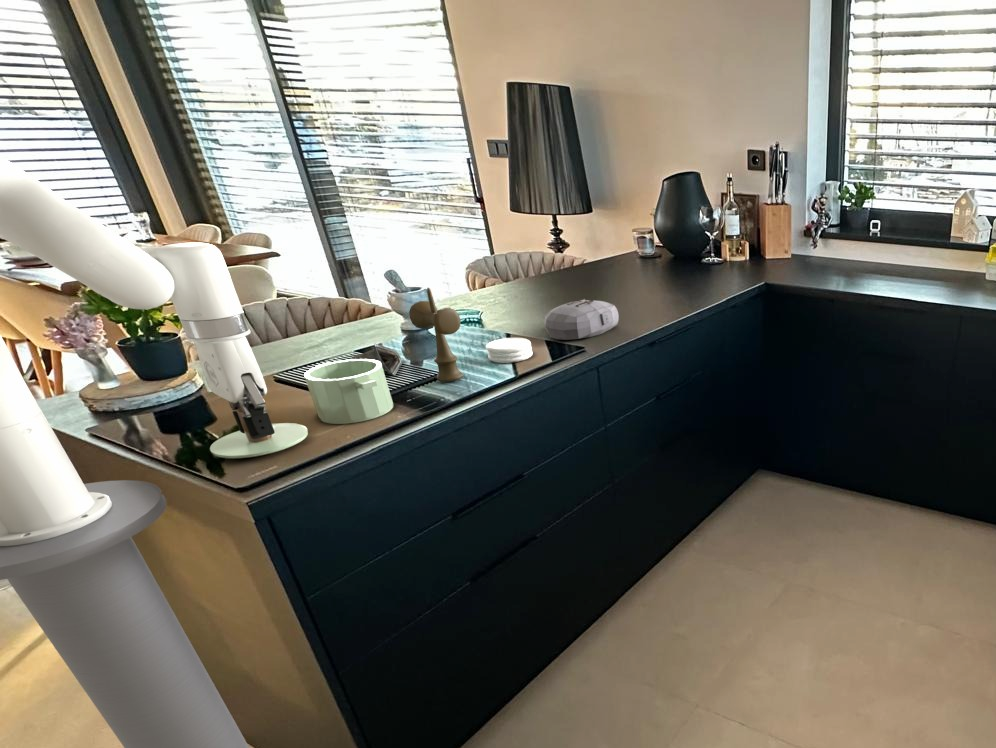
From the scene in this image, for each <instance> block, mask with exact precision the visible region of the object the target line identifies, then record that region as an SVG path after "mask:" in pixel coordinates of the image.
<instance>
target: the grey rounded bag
mask: <svg viewBox="0 0 996 748" xmlns="http://www.w3.org/2000/svg"><path fill="white" fill-rule="evenodd" d="M619 316H620V315H619V312H618V308H617V307H616V306H615V305H614V304H613V303H610V302H606V301H603V300H594V299H591V300H588V299H587V300H586V299H585V298H582V299H576V300H575V301H570V302H567V303H564V304H561V305H558V306H556V307H554V308H552V309H551V310H549V311H548V312H547V314H546V315H545V316H544V321H543V324H544V327H545V329H546V331H547V332H548V335H549V337H550V338H552V339H555V340H563V341H564V340H565V341H568V340H579V339H586V338H591V337H596V336H599V335H602V334H604V333H606V332H608V331H610V330H611V329H613V328H615V327H616V326H617V325H618V323H619V319H620V318H619Z"/></svg>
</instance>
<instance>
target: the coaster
mask: <svg viewBox="0 0 996 748" xmlns="http://www.w3.org/2000/svg"><path fill="white" fill-rule="evenodd" d="M485 349H486V354H487V358H488V360H489V361H491V362H493V363H498V364H509V363H510V364H512V363H519V362H522V361H526V360H528V359H530V358H531V357H532V356H533V350H532V349H533V348H532V343H531V341H530V339H527V338H525V337H524V338H523V337H504V338H498V339H495V340H492V341H489V342H488V343H487V344H486V345H485Z"/></svg>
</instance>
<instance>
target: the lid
mask: <svg viewBox="0 0 996 748" xmlns="http://www.w3.org/2000/svg"><path fill="white" fill-rule="evenodd" d="M247 407H248V406H247ZM235 411H236V412H237V414H238V417H239V419H240V422H241V424H242V427H243V429H244V432H245V433H242V432H240V430H237V431H234V432H231V433H229V434H226V435H223V436H222V437H220V438H218V439H217V440H215V441H214V442H213V443H212V444H211V445H210V447H209V451H210V453H211V454H212V456H214V457H216V458H222V459H245V458H253V457H259V456H264V455H269V454H273V453H276V452H280V451H283V450H285V449H289V448H290V447H293V446H295V445H297V444H300V443H301V442H302V441H303V440H305V439H306V438H307V437H308V435H309V430H308V428H307V427H306V426H305V425H303V424H298V423H292V422H291V423H290V422H284V423H283V422H282V423H281V422H280V423H272V426H273V428H274V431H275V433H274V434H272V435H269V436H265V437H262V438H258V439H252V438H251V437H250V435H249V432H248V430H247V427H246V425H245V422H244V420H243V417H245V415H244V413H243V411H242V408H239V409H237V410H235Z"/></svg>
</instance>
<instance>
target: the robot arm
mask: <svg viewBox="0 0 996 748" xmlns="http://www.w3.org/2000/svg"><path fill="white" fill-rule="evenodd" d="M0 238H1V239H3V240H5V241H7V242H9V243H11V244H12V245H15V246H16V247H19V248H21V249H22V250H24V251H26V252H28V253H29V254H31V255H33V256H34V257H36V258H38V259H40V260H41V261H44V262H45V263H47V264H49V265H50V266H52V267H54V268H55V269H57V270H59V271H60V272H62V273H64V274H66V275H67V276H69V277H70V278H72V279H74V280H76V281H78V282H79V283H81V284H83V285H84V286H86V287H87V288H89V289H90V290H92V291H93V292H94V293H96V294H98V295H100V296H102V297H103V298H105V299H108V300H109V301H111V302H112V303H114V304H116V305H119V306H121V307H124V308H128V309H132V310H152V309H156V308H158V307H161V306H163V305H165V304H166V303H167V302H169V300H171V302H172V304H173V307H174V309H175V312H176V314H177V317H178V319H179V322H180V324H181V326H182V329H183V331H184V333H185V336H186V338H187V341H189V342H192V343H193V344H194V349H195V351H196V355H197V357H198V361H199V363H200V366H201V369H202V371H203V375H204V377H205V380H206V383H207V386H208V388H209V390H210V391H211V393H213V394H214V395H216V396H218V397H220V398H221V399H223V400H226V401H227V402H228V404H229V407H230V409H231V412H232V414H233V417H234V419H235V423H236V425H237V427H238V429H239V430H238V431H240V432H242V433H245V432H244V429H243V427H242V424H241V422H240V419H239V417H238V414H237V412H236V410H237V409H239V408H242V411H243V413H244V415H245V417H243V420H244V422H245V425H246V427H247V430H248V432H249V435H250V437H251V438H252V439H258V438H262V437H265V436H269V435H272V434H274V433H275V431H274V428H273V426H272V424H273V423H272V421H271V418H270V415H269V412H268V409H267V407H266V401H265V399H264V398H263V397H265V396H266V395H267V393H268V389H267V385H266V381H265V379H264V376H263V374H262V371H261V369H260V366H259V363H258V361H257V359H256V357H255V354H254V352H253V350H252V347H251V346H250V343H249V341H248V339H247V337H246V336H249V335H250V334H251V330H250V329H251V328H250V326H249V324H248V320H247V318H246V315H245V312H244V310H243V306H242V304H241V302H240V299H239V296H238V294H237V292H236V289H235V286H234V282H233V280H232V277H231V274H230V272H229V269H228V267H227V264H226V261H225V258H224V256H223V254H222V252H221V250H220V249H219V248H218V247H217V246H216V245H213V244H212V243H211V244H210V243H205V242H180V243H171V244H165V245H161V246H136V245H134V244H133V243H131V242H130V241H128V240H127V239H126V238H124V237H122V236H121V235H119V234H118V233H116V232H115V231H113V230H112V229H110V228H108V227H107V226H105V225H104V224H102V223H101V222H99V221H98V220H97V219H95V218H93V217H91V216H90V215H88V214H87V213H86V212H84V211H83V210H81V209H79V208H78V207H76V206H75V205H73V204H71V203H70V202H68V201H67V200H65V199H64V198H63V197H61V196H60V195H59V194H57V193H55V192H54V191H53V190H51V189H50V188H49V187H48V186H46V185H45V184H44V183H42V182H40V181H39V180H38V179H36V178H35V177H33V176H31V174H29V173H27V172H26V171H25V170H23V169H22V168H20V167H18V166H17V165H15V164H14V163H12V162H11V161H9V160H8V159H6V158H5V157H3V156H2V155H0ZM247 406H248V407H247ZM84 484H85V483H84V482H83V480H82V478H81V477H80V475H79V473H78V471H77V470H76V468H75V466H74V465H73V463H72V461H71V459H70V457H69V455H68V454H67V452H66V451H65V449H64V447H63V446H62V444H61V442H60V440H59V437H57V434H56V433H55V431H54V430H53V428H52V426H51V424H50V423H49V421H48V420H47V417H46V416H45V414H44V412H43V411H42V409H41V407H40V406H39V404H38V402H37V401H36V398H35V397H34V395H33V394H32V392H31V390H30V388H29V387H28V385H27V383H26V381H25V379H24V377H23V376H22V374H21V372H20V370H19V368H18V366H17V363H16V362H15V360H14V358H13V356H12V354H11V352H10V350H9V347H8V346H7V344H6V342H5V340H4V338H3V337H2V335H1V334H0V546H15V545H23V544H29V543H34V542H38V541H42V540H46V539H50V538H53V537H57V536H60V535H63V534H66V533H69V532H72V531H74V530H77V529H79V528H81V527H84V526H86V525H88V524H90V523H92V522H94V521H96V520H97V519H99V518H100V517H102V516H103V515H105V514H106V513H107V512H108V511H109V510H110V508H111V507H112V502H111V500H110V499H109V497H108V496H107V495H105V494H101V493H95V492H88V490H87V489H86V487H85V485H84Z"/></svg>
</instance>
